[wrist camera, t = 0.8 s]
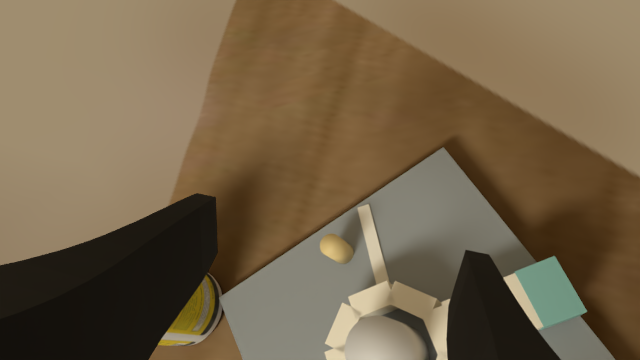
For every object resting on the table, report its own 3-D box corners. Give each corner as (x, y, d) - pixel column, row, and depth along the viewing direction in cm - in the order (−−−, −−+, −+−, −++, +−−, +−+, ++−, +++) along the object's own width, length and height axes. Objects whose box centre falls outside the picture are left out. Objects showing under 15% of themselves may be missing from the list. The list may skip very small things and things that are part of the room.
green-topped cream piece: (365, 439, 22) (352, 446, 20) (326, 315, 25) (311, 311, 23) (603, 356, 20) (613, 356, 18) (530, 230, 22) (533, 219, 21)
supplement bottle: (208, 256, 30) (114, 223, 23) (236, 318, 28) (141, 304, 21) (153, 296, 31) (43, 277, 23) (176, 361, 28) (62, 362, 21)
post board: (667, 431, 19) (729, 458, 14) (353, 606, 21) (302, 688, 16) (445, 155, 27) (431, 106, 22) (229, 300, 29) (167, 286, 23)
